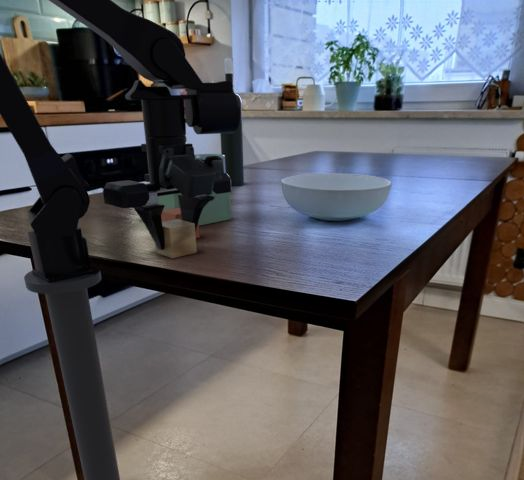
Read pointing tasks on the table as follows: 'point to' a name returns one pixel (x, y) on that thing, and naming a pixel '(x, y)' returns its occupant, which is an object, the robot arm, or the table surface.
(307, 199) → the serving bowl
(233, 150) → the wine bottle
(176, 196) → the green storage bin
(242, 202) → the table surface
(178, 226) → the beech block
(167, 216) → the terracotta block
